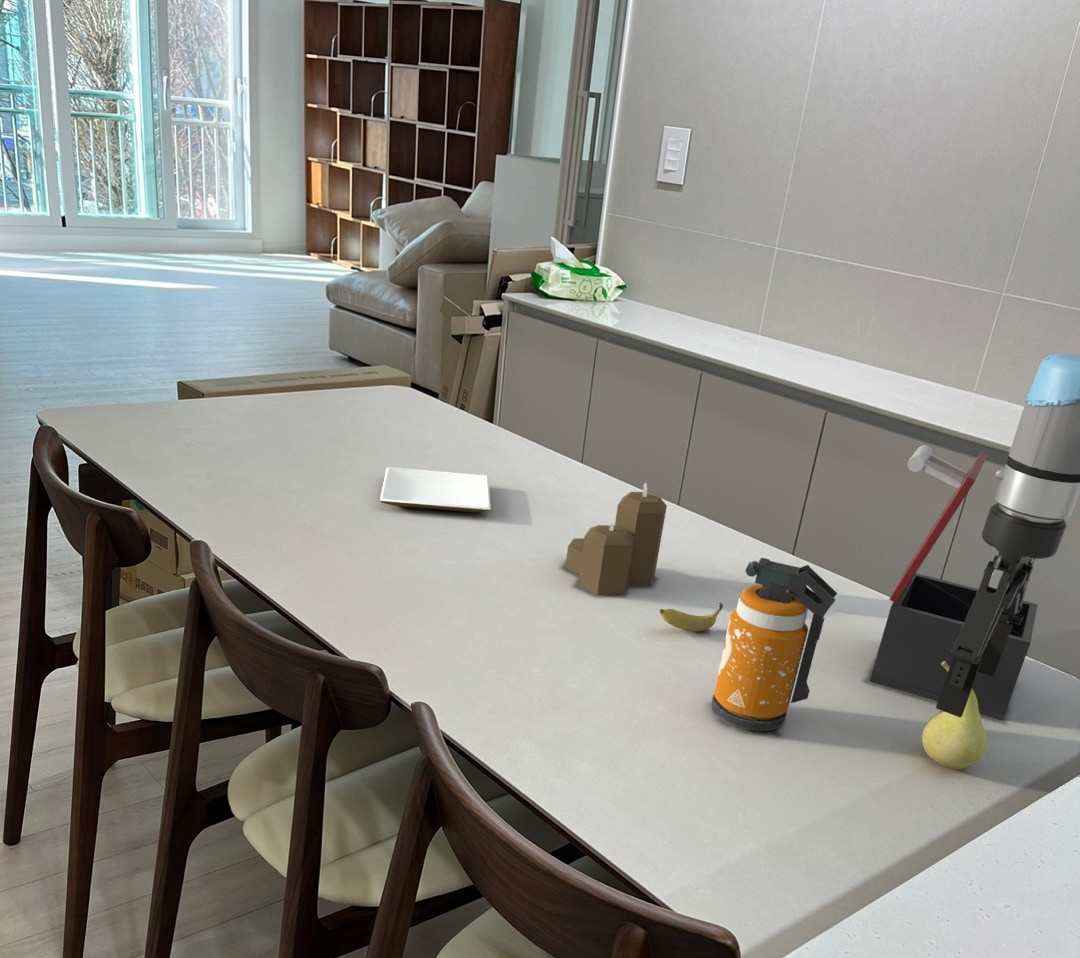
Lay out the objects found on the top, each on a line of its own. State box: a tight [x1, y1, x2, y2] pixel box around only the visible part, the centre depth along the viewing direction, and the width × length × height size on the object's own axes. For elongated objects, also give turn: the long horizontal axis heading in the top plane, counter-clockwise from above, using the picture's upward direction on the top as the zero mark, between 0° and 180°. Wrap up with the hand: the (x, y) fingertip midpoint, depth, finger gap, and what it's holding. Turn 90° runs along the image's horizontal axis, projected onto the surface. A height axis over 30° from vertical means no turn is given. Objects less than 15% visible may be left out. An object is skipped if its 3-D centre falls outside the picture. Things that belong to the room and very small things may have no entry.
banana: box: [659, 602, 724, 633], centre depth 148 cm, size 10×2×4 cm, turn 113°
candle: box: [564, 482, 667, 596], centre depth 160 cm, size 14×14×15 cm
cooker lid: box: [889, 444, 988, 603], centre depth 137 cm, size 18×15×8 cm
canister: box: [710, 557, 838, 731], centre depth 123 cm, size 9×11×20 cm
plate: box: [379, 466, 492, 514], centre depth 187 cm, size 19×19×2 cm
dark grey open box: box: [869, 572, 1039, 721], centre depth 141 cm, size 17×15×11 cm
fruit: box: [921, 661, 988, 770], centre depth 121 cm, size 7×8×12 cm
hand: (966, 691), depth 119 cm, fingers open, 13 cm apart
